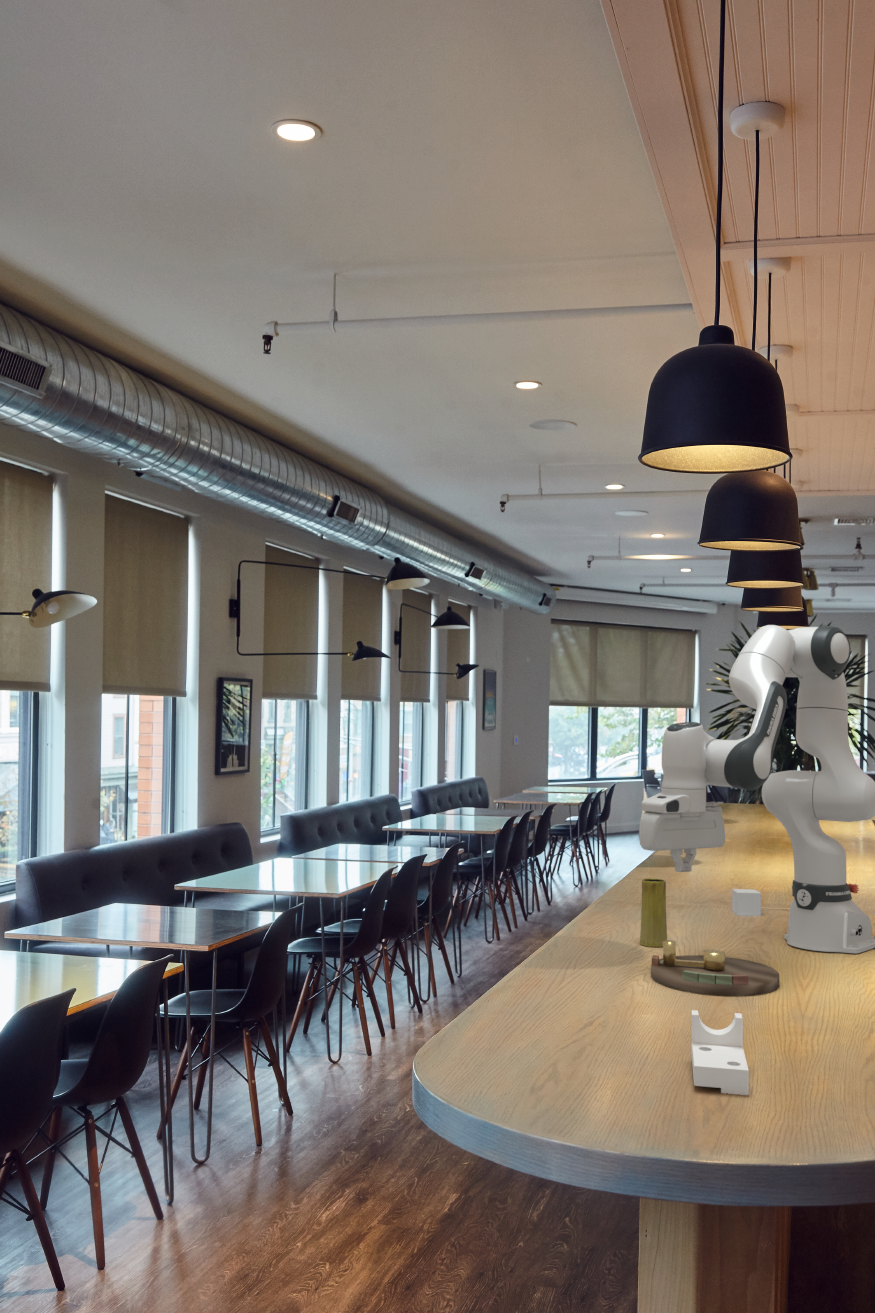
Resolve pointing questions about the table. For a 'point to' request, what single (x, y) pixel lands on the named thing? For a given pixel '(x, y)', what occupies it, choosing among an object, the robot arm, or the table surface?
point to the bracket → (719, 1056)
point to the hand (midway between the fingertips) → (683, 871)
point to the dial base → (736, 967)
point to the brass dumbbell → (711, 961)
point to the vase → (653, 913)
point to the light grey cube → (746, 902)
